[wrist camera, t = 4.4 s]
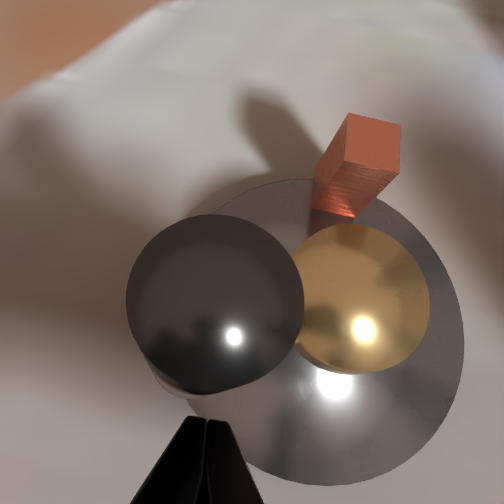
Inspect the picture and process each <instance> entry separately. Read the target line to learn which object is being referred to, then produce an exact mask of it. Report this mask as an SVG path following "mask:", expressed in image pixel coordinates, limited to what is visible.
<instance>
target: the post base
mask: <svg viewBox="0 0 504 504" xmlns="http://www.w3.org/2000/svg"><path fill="white" fill-rule="evenodd" d="M400 140H401V125H398V124H394V123H389V122H385V121H381V120H377V119H373V118H369V117H365V116H360V115H356V114H352V113H348V115H347V116H346V118H345V120H344V121H343V123H342V125H341V126H340V128H339V130H338V131H337V133H336V135H335V136H334V138H333V140H332V141H331V143H330V145H329V146H328V148H327V150H326V151H325V153H324V155H323V156H322V158H321V160H320V161H319V163H318V165H317V166H316V168H315V177H314V180H312V179H296V180H284V181H279V182H275V183H270V184H266V185H263V186H260V187H257V188H254V189H252V190H249V191H247V192H245V193H243V194H241V195H239V196H237V197H235V198H234V199H232V200H231V201H230V202H228V203H227V204H225V205H224V206H222V207H221V208H220V209H218V210H217V211H216V212H215V213H214V215H227V216H234V217H237V218H241V219H244V220H247V221H249V222H252V223H254V224H256V225H258V226H259V227H261V228H263V229H264V230H266V231H267V232H268V233H270V234H271V235H272V236H274V237H275V238H276V239H277V240H278V241H279V242H280V243H281V244H282V245H283V247H284V248H285V249H286V250H287V251H288V253H289V255H290V256H291V257H292V256H293V255H294V253H295V252H296V251H297V250H298V248H299V247H300V246H301V245H302V244H303V243H304V242H305V241H306V240H307V239H308V238H309V237H311V236H312V235H313V234H315V233H317V232H318V231H320V230H322V229H325V228H327V227H330V226H334V225H339V224H359V225H365V226H368V227H372V228H375V229H377V230H380V231H382V232H384V233H386V234H387V235H389V236H391V237H392V238H394V239H395V240H396V241H398V242H399V243H400V244H401V245H402V246H403V247H405V249H406V250H407V251H408V252H409V253H410V254H411V255H412V257H413V258H414V259H415V261H416V262H417V264H418V266H419V267H420V269H421V271H422V273H423V276H424V278H425V281H426V284H427V288H428V292H429V298H430V314H429V321H428V325H427V329H426V331H425V334H424V336H423V338H422V340H421V342H420V344H419V345H418V346H417V348H416V349H415V350H414V351H413V352H412V353H411V354H410V355H409V356H408V357H407V358H406V359H405V360H403V361H402V362H401V363H399V364H397V365H395V366H393V367H390V368H388V369H385V370H380V371H375V372H369V373H364V374H358V375H341V374H335V373H331V372H328V371H325V370H322V369H320V368H318V367H316V366H315V365H313V364H311V363H310V362H308V361H307V360H306V359H304V358H303V357H302V356H301V355H300V354H299V353H298V352H297V351H296V350H295V349H294V348H293V347H292V348H291V350H290V351H289V353H288V354H287V356H286V357H285V358H284V359H283V360H282V361H281V363H280V364H279V365H277V366H276V367H275V368H274V369H273V370H272V371H271V372H269V373H268V374H266V375H265V376H263V377H262V378H260V379H258V380H256V381H254V382H252V383H249V384H246V385H243V386H240V387H237V388H233V389H230V390H227V391H224V392H220V393H217V394H214V395H211V396H207V397H204V398H200V399H187V400H188V401H189V403H190V405H191V407H192V409H193V410H194V412H195V413H196V415H197V416H198V417H202V418H206V419H207V422H208V420H210V419H215V420H222V421H227V422H228V423H229V424H230V426H231V428H232V431H233V433H234V435H235V438H236V440H237V442H238V445H239V447H240V449H241V452H242V454H243V456H244V458H245V461H246V462H248V463H250V464H251V465H253V466H255V467H257V468H259V469H260V470H262V471H264V472H267V473H269V474H272V475H274V476H277V477H280V478H282V479H285V480H289V481H294V482H298V483H303V484H309V485H322V486H333V485H346V484H352V483H357V482H361V481H365V480H369V479H372V478H374V477H377V476H379V475H382V474H384V473H387V472H389V471H391V470H392V469H394V468H396V467H397V466H399V465H401V464H402V463H404V462H406V461H407V460H408V459H409V458H411V457H412V456H413V455H414V454H416V453H417V452H418V451H419V450H420V449H422V447H423V446H424V445H425V444H426V443H427V442H428V441H429V440H430V438H431V437H432V436H433V435H434V434H435V433H436V431H437V430H438V428H439V427H440V425H441V424H442V422H443V421H444V419H445V417H446V415H447V413H448V411H449V409H450V407H451V405H452V403H453V401H454V398H455V395H456V392H457V389H458V385H459V382H460V378H461V372H462V366H463V358H464V332H463V322H462V316H461V311H460V306H459V302H458V299H457V296H456V293H455V290H454V287H453V284H452V282H451V280H450V277H449V275H448V273H447V271H446V269H445V267H444V265H443V264H442V262H441V260H440V258H439V257H438V255H437V253H436V252H435V251H434V249H433V248H432V246H431V245H430V244H429V242H428V241H427V240H426V238H425V237H424V236H423V235H422V234H421V233H420V232H419V231H418V230H417V228H416V227H415V226H414V225H413V224H412V223H410V222H409V221H408V220H407V219H406V218H405V217H404V216H403V215H401V214H400V213H399V212H397V211H396V210H395V209H393V208H392V207H390V206H389V205H388V204H386V203H385V202H383V201H381V200H379V199H377V198H376V196H377V195H378V194H379V193H380V192H381V191H382V190H383V189H384V188H385V187H386V186H387V185H388V184H389V183H390V182H391V181H392V180H393V179H394V178H395V177H396V176H397V175H398V174H399V162H400Z"/></svg>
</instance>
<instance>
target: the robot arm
mask: <svg viewBox="0 0 504 504" xmlns="http://www.w3.org/2000/svg"><path fill="white" fill-rule="evenodd" d="M130 504H264V502H263V500H262V498H261V496H260V493H259V491H258V489H257V486H256V484H255V482H254V479H253V477H252V475H251V472H250V470H249V468H248V465H247V463H246V461H245V458H244V456H243V454H242V452H241V449H240V447H239V445H238V442H237V440H236V438H235V435H234V433H233V431H232V428H231V426H230V424H229V423H228V422H227V421H222V420H215V419H210V420H208V422H207V419H206V418H202V417H196V416H187V417H186V418H185V420H184V421H183V423H182V424H181V426H180V427H179V429H178V430H177V432H176V433H175V435H174V437H173V438H172V440H171V441H170V443H169V444H168V446H167V447H166V449H165V450H164V452H163V453H162V455H161V456H160V458H159V460H158V461H157V463H156V464H155V466H154V467H153V469H152V470H151V472H150V473H149V475H148V476H147V478H146V480H145V481H144V483H143V484H142V486H141V487H140V489H139V490H138V492H137V493H136V495H135V496H134V498H133V500H132V501H131V503H130Z"/></svg>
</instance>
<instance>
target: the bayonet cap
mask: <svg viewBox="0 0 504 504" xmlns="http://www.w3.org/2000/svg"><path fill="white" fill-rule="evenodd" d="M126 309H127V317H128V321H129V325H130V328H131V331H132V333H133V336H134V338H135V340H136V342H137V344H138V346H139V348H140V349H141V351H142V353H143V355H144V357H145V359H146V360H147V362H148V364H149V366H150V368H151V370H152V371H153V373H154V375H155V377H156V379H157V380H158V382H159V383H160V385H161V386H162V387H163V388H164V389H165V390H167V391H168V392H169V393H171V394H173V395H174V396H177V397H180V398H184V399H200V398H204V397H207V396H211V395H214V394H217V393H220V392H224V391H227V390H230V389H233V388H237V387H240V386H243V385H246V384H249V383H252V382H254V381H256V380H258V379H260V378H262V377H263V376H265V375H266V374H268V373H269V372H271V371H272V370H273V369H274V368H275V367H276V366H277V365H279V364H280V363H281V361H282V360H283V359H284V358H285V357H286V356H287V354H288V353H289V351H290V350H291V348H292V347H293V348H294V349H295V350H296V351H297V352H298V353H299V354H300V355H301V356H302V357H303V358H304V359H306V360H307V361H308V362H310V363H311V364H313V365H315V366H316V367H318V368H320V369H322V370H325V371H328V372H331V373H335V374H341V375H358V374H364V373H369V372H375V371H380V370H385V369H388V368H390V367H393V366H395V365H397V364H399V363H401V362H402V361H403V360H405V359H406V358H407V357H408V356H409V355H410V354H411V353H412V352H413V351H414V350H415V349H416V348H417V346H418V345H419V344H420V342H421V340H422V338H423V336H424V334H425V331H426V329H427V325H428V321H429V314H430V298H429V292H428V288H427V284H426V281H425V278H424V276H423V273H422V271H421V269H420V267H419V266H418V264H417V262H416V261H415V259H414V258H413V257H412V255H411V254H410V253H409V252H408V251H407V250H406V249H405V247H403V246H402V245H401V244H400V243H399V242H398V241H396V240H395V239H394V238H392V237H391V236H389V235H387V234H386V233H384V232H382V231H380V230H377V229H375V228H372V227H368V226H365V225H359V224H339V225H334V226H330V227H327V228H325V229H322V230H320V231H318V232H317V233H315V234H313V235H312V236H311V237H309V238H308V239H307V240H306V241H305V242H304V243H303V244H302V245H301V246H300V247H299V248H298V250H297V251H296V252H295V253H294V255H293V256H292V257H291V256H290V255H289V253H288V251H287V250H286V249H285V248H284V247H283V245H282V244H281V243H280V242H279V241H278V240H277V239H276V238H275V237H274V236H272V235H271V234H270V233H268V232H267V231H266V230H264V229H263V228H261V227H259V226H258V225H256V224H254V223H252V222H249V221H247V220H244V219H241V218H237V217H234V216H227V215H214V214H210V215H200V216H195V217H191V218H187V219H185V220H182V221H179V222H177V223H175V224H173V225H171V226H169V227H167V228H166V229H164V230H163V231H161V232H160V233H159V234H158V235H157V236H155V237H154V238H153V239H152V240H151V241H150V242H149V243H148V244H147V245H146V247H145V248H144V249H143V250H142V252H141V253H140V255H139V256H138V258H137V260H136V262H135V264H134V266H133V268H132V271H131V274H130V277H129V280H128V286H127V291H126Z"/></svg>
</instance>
